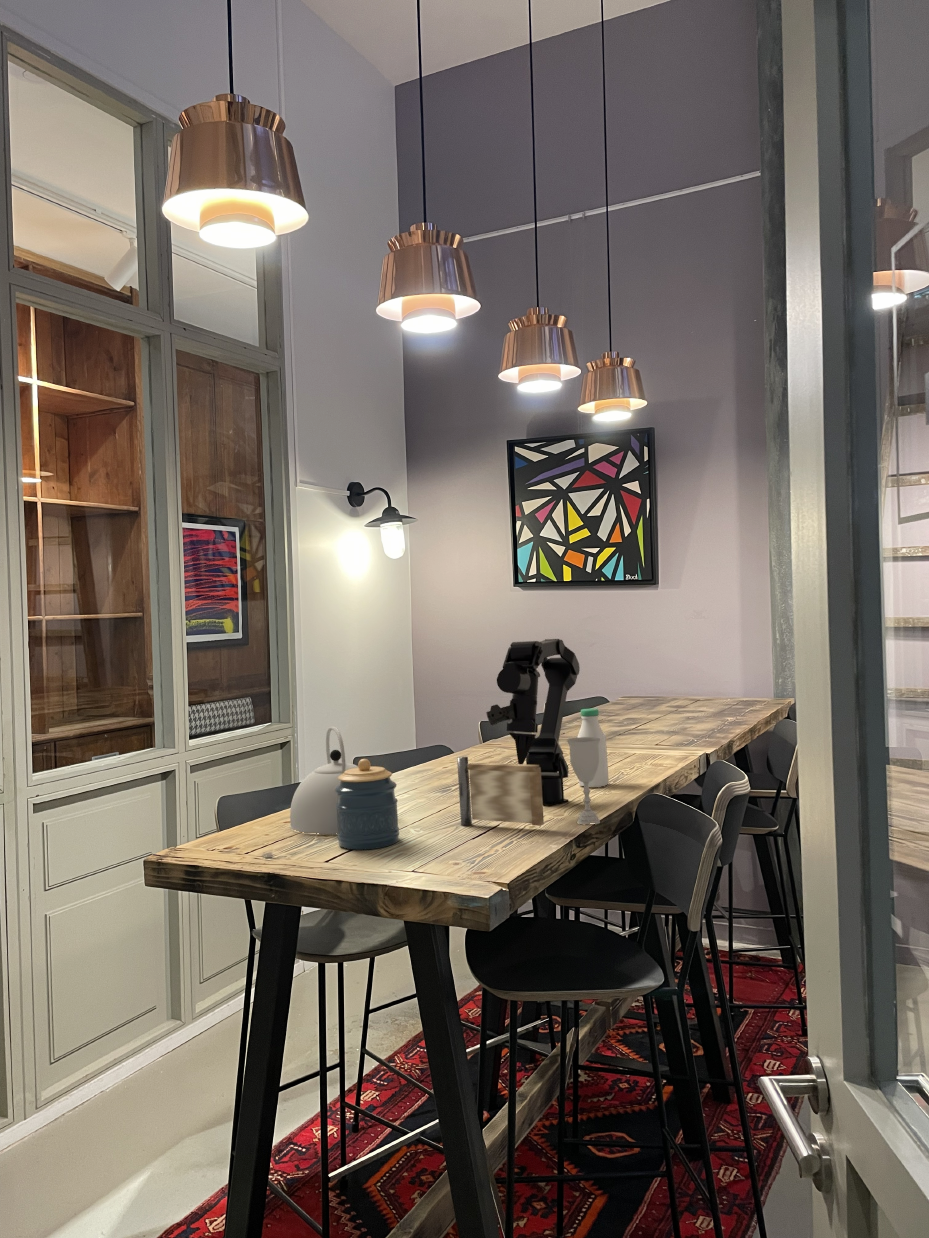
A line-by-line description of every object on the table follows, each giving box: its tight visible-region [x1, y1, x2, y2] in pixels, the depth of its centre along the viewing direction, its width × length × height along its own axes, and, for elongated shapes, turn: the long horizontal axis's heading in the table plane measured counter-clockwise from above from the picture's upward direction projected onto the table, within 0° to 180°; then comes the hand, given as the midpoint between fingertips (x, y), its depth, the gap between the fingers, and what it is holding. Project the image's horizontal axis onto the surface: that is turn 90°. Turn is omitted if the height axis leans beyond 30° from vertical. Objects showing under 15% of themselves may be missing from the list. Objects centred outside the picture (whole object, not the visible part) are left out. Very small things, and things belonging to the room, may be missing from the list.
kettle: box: [289, 725, 358, 835], centre depth 213 cm, size 25×23×22 cm
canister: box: [335, 758, 400, 851], centre depth 192 cm, size 13×13×18 cm
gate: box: [468, 762, 545, 827], centre depth 197 cm, size 17×2×12 cm, turn 60°
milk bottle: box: [577, 708, 610, 788], centre depth 238 cm, size 8×8×20 cm
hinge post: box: [456, 756, 473, 827], centre depth 202 cm, size 2×2×15 cm
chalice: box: [566, 737, 601, 825], centre depth 198 cm, size 7×7×18 cm
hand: (520, 764), depth 208 cm, fingers closed
